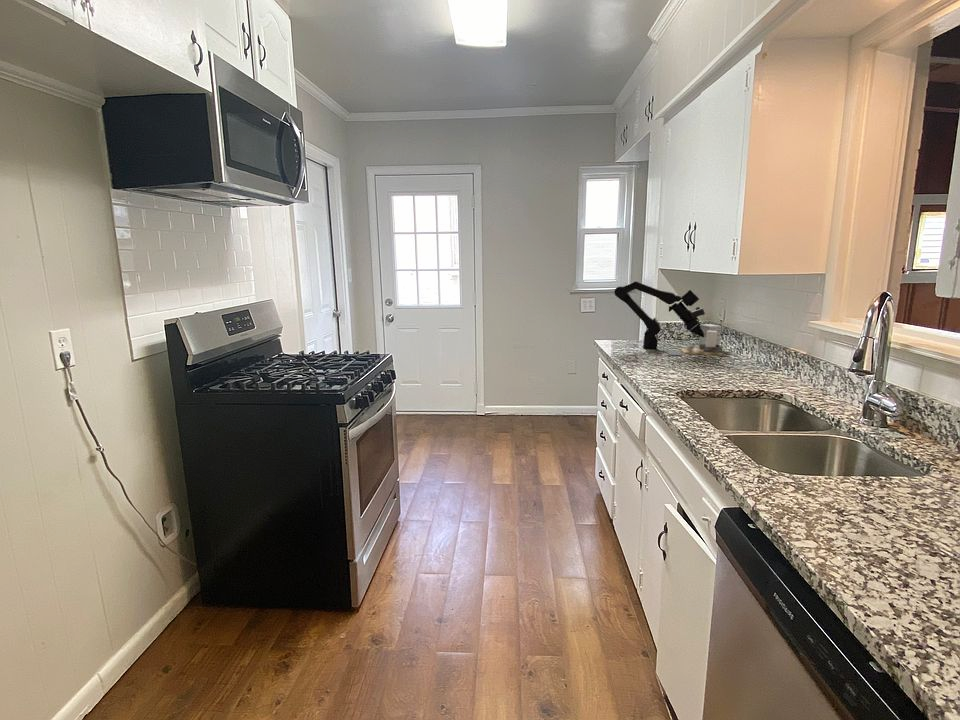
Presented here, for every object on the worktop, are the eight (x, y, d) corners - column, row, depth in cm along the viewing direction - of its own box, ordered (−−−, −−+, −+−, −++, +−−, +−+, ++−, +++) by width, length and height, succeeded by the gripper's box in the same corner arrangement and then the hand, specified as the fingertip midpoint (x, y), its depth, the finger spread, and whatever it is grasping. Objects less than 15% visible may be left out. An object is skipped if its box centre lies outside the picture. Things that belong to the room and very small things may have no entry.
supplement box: (698, 347, 280) (700, 324, 277) (709, 347, 282) (711, 323, 279) (707, 350, 273) (710, 326, 270) (719, 349, 275) (721, 325, 272)
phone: (668, 356, 258) (668, 354, 257) (666, 352, 269) (666, 350, 269) (681, 357, 256) (682, 355, 256) (679, 352, 267) (679, 350, 267)
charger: (705, 351, 266) (707, 331, 263) (705, 349, 270) (707, 330, 268) (715, 351, 264) (717, 332, 262) (715, 350, 268) (717, 330, 266)
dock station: (684, 353, 262) (685, 346, 261) (679, 349, 275) (679, 341, 274) (723, 355, 259) (724, 347, 258) (716, 350, 271) (717, 343, 271)
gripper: (696, 303, 256) (717, 327, 255) (696, 300, 273) (716, 323, 272) (677, 318, 261) (698, 342, 259) (678, 314, 278) (698, 336, 276)
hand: (703, 335), depth 267 cm, fingers open, 9 cm apart
